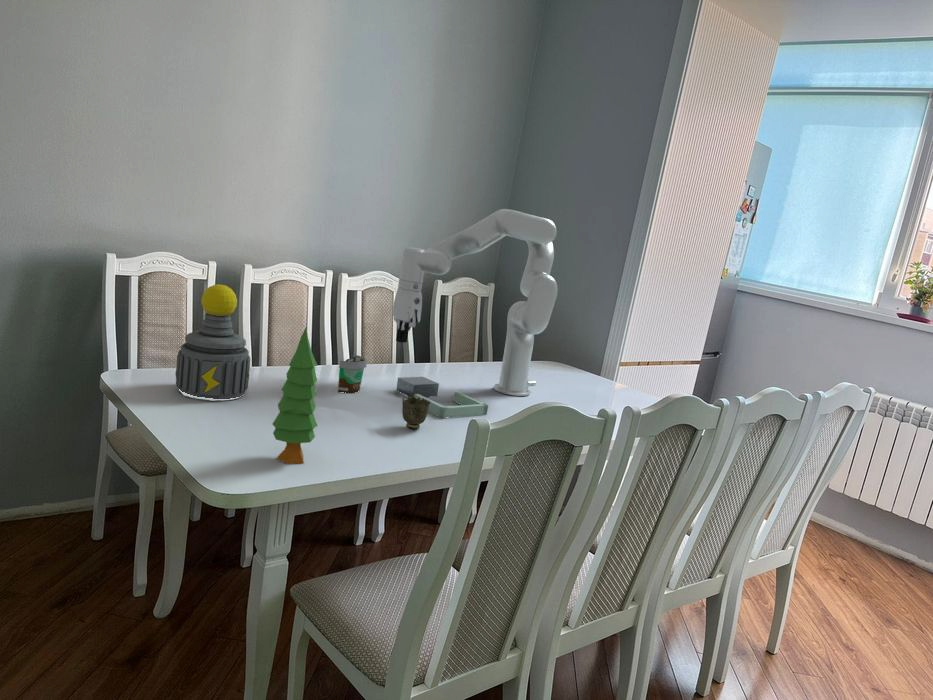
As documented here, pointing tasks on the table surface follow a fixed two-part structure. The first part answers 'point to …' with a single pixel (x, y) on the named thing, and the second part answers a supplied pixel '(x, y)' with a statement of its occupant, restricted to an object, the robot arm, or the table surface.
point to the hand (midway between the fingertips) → (401, 341)
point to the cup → (414, 411)
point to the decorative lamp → (214, 351)
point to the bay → (466, 409)
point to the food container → (351, 374)
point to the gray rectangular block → (417, 386)
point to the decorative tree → (297, 404)
